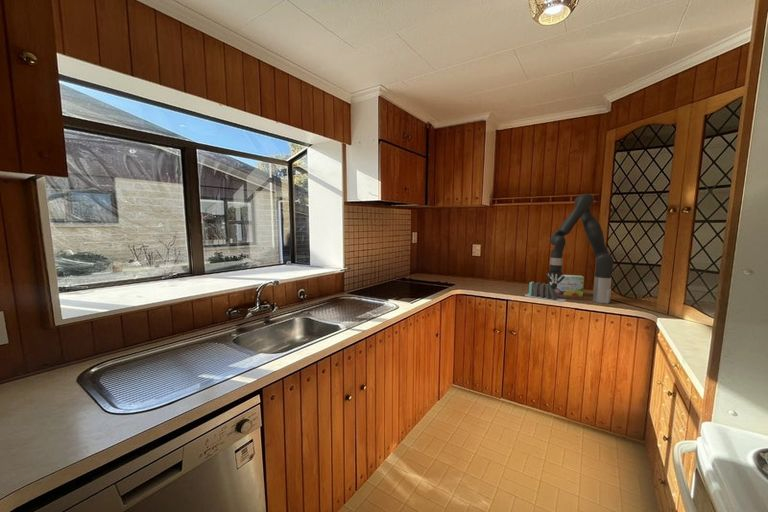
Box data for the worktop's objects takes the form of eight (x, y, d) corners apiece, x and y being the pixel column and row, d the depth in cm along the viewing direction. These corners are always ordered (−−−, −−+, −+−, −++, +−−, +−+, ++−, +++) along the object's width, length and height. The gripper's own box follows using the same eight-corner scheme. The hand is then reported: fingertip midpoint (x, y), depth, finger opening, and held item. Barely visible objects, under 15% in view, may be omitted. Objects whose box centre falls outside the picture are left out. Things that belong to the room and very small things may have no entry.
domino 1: (533, 294, 227) (534, 281, 225) (531, 296, 223) (531, 282, 222) (531, 294, 228) (532, 281, 227) (528, 295, 224) (529, 282, 223)
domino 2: (539, 295, 224) (540, 282, 223) (536, 297, 220) (537, 283, 219) (537, 295, 225) (537, 282, 224) (534, 296, 221) (535, 283, 220)
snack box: (550, 294, 228) (551, 275, 226) (549, 293, 234) (550, 273, 232) (582, 296, 222) (584, 276, 220) (580, 294, 227) (581, 275, 226)
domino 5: (557, 298, 215) (552, 284, 216) (554, 299, 212) (550, 285, 213) (554, 298, 216) (550, 284, 218) (552, 299, 213) (547, 285, 214)
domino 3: (545, 296, 221) (545, 283, 220) (542, 298, 217) (543, 284, 216) (542, 296, 222) (543, 283, 221) (540, 297, 219) (541, 284, 217)
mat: (566, 299, 213) (566, 299, 213) (562, 302, 206) (562, 302, 206) (528, 293, 232) (528, 293, 232) (523, 296, 225) (523, 295, 225)
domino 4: (551, 297, 218) (550, 283, 218) (548, 298, 215) (547, 284, 214) (548, 297, 219) (547, 283, 219) (546, 298, 216) (545, 284, 215)
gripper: (568, 264, 209) (566, 289, 211) (547, 262, 219) (546, 286, 221) (564, 265, 204) (563, 290, 206) (543, 263, 214) (542, 287, 216)
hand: (554, 288), depth 213 cm, fingers closed
